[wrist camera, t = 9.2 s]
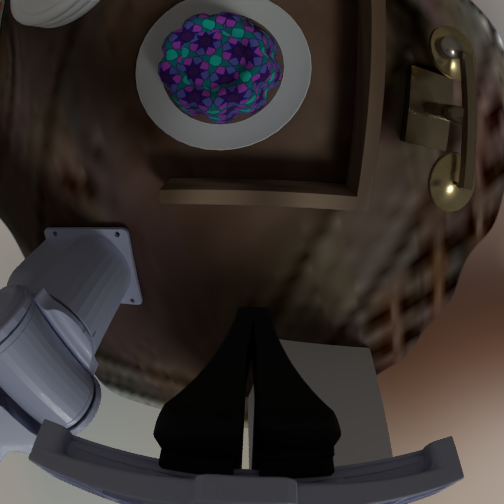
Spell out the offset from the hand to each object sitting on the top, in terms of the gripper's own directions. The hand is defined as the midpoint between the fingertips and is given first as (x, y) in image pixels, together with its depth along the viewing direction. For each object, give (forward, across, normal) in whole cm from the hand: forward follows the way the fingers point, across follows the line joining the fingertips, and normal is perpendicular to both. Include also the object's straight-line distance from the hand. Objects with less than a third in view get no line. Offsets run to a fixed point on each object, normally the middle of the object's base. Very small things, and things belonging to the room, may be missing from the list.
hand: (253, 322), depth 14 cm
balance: (+11, -12, -11) cm, 20 cm away
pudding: (+11, +3, -12) cm, 17 cm away
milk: (+11, -6, +19) cm, 23 cm away
